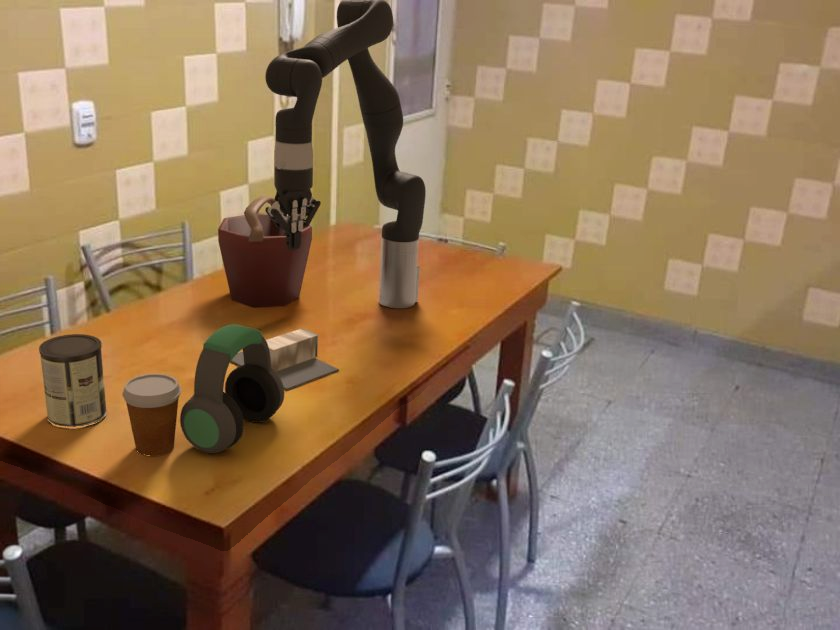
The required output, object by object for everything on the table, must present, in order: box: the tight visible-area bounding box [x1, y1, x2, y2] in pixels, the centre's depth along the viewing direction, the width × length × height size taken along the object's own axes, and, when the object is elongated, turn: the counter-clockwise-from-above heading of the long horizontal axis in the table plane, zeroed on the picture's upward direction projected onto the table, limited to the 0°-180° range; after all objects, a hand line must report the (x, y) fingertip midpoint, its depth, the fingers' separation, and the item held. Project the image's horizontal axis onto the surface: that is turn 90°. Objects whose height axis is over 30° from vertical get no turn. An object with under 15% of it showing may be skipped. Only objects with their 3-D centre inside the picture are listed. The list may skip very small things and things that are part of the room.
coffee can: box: [38, 333, 108, 427], centre depth 160 cm, size 10×10×14 cm
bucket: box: [217, 196, 313, 309], centre depth 221 cm, size 24×22×25 cm
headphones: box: [179, 323, 285, 454], centre depth 156 cm, size 19×11×20 cm, turn 156°
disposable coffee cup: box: [121, 373, 182, 457], centre depth 151 cm, size 10×10×12 cm
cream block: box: [265, 328, 319, 372], centre depth 188 cm, size 5×5×12 cm
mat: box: [230, 351, 339, 391], centre depth 187 cm, size 14×20×1 cm
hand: (293, 248), depth 181 cm, fingers closed
